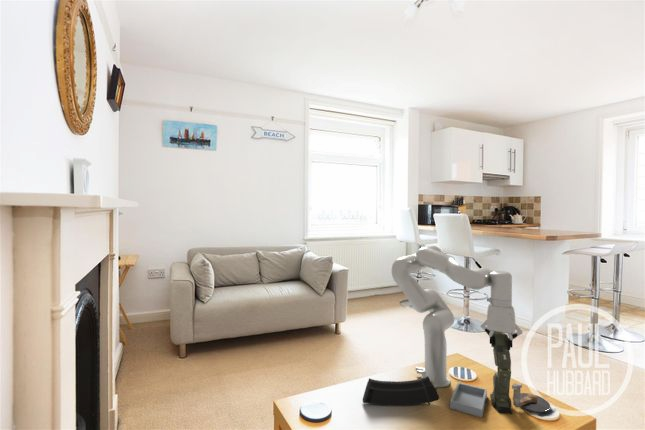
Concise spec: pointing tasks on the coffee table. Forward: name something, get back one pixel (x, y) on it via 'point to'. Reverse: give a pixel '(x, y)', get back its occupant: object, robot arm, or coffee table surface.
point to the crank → (518, 402)
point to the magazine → (400, 392)
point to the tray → (469, 399)
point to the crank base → (536, 405)
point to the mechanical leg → (501, 374)
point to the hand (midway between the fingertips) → (500, 346)
